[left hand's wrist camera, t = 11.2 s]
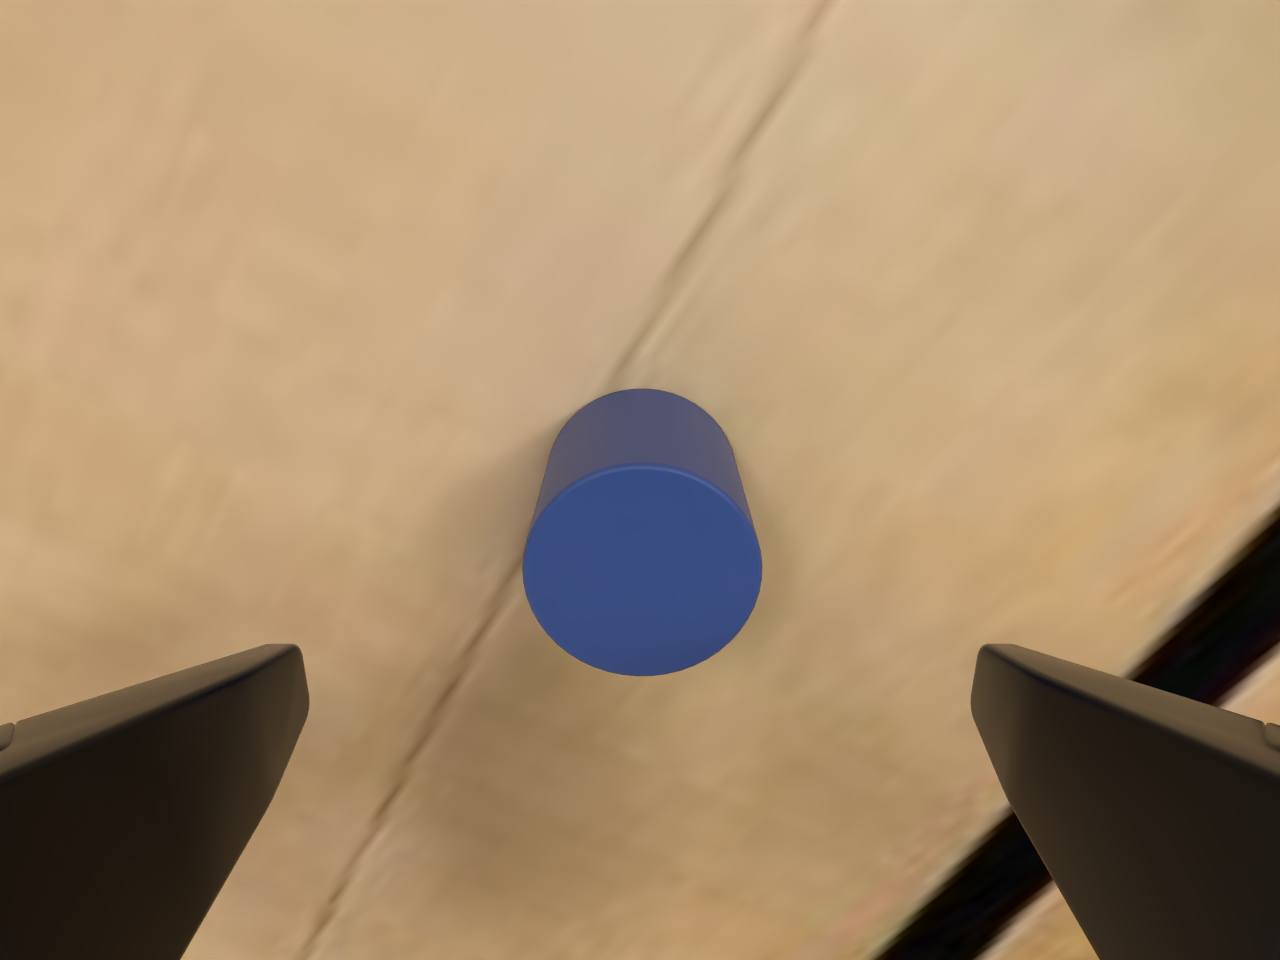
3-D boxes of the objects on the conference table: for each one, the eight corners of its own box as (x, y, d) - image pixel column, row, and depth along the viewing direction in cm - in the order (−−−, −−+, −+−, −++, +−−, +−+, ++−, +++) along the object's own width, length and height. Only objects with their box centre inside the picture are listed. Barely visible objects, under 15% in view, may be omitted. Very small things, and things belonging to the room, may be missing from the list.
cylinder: (509, 456, 18) (472, 549, 14) (667, 349, 17) (674, 416, 13) (619, 594, 19) (614, 715, 15) (771, 500, 18) (807, 603, 14)
